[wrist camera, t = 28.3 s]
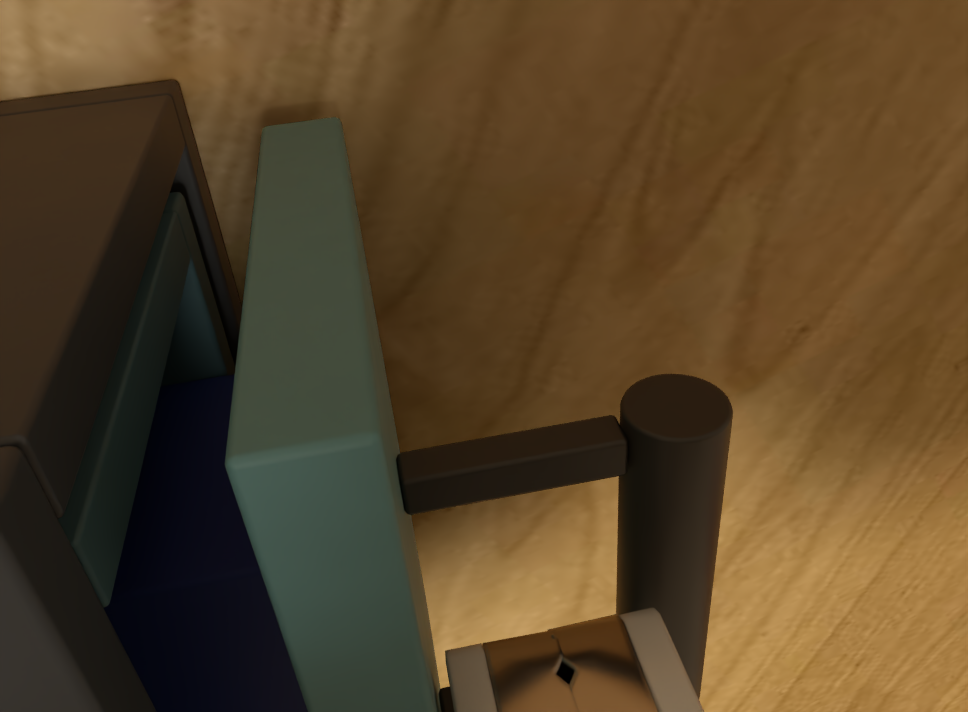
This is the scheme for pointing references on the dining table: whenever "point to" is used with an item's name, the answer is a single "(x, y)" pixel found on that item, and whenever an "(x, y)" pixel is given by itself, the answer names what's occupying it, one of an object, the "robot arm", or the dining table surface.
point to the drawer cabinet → (77, 357)
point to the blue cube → (197, 571)
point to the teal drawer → (372, 446)
